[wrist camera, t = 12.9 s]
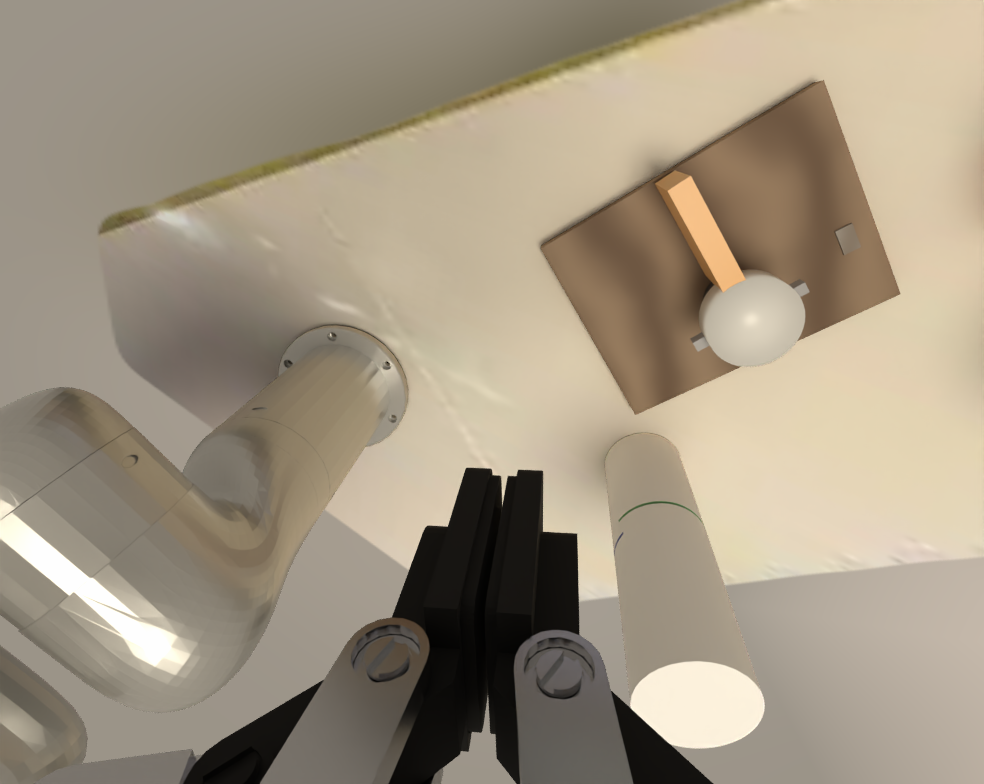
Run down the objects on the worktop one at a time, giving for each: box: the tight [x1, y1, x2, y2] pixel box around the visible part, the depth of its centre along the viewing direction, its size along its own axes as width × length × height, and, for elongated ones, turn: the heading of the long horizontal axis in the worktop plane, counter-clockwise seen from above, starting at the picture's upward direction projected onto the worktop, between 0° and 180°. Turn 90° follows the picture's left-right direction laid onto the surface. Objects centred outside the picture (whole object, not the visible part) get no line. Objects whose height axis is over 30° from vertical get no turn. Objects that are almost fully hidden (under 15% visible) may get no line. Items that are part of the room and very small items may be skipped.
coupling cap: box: [655, 171, 810, 367], centre depth 40 cm, size 14×8×6 cm, turn 35°
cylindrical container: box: [605, 433, 764, 748], centre depth 42 cm, size 7×7×25 cm
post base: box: [541, 80, 900, 415], centre depth 42 cm, size 22×17×6 cm
